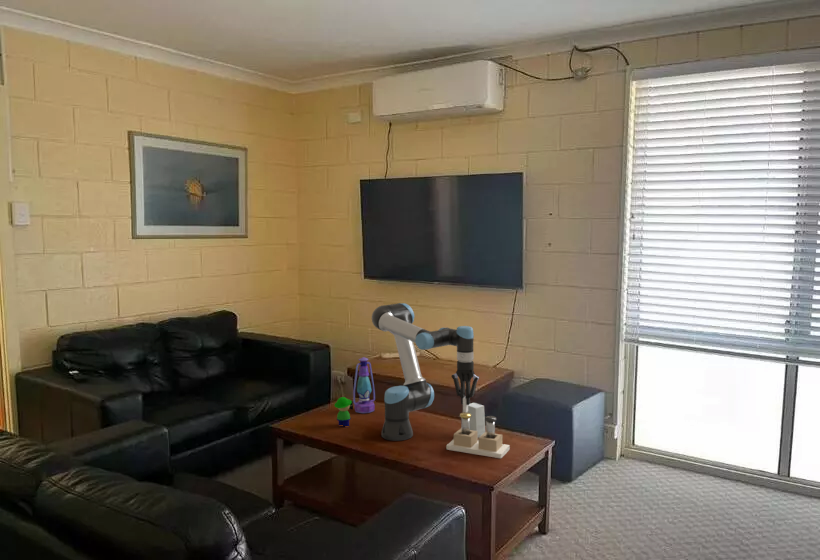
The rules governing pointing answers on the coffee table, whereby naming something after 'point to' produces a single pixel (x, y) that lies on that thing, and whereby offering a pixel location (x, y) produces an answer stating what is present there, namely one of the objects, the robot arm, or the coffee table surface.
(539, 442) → the coffee table surface
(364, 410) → the lantern
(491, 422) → the plug black
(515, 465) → the coffee table surface
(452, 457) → the coffee table surface
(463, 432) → the plug brass
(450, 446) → the socket board
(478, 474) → the coffee table surface
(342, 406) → the toy
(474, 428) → the skincare box
